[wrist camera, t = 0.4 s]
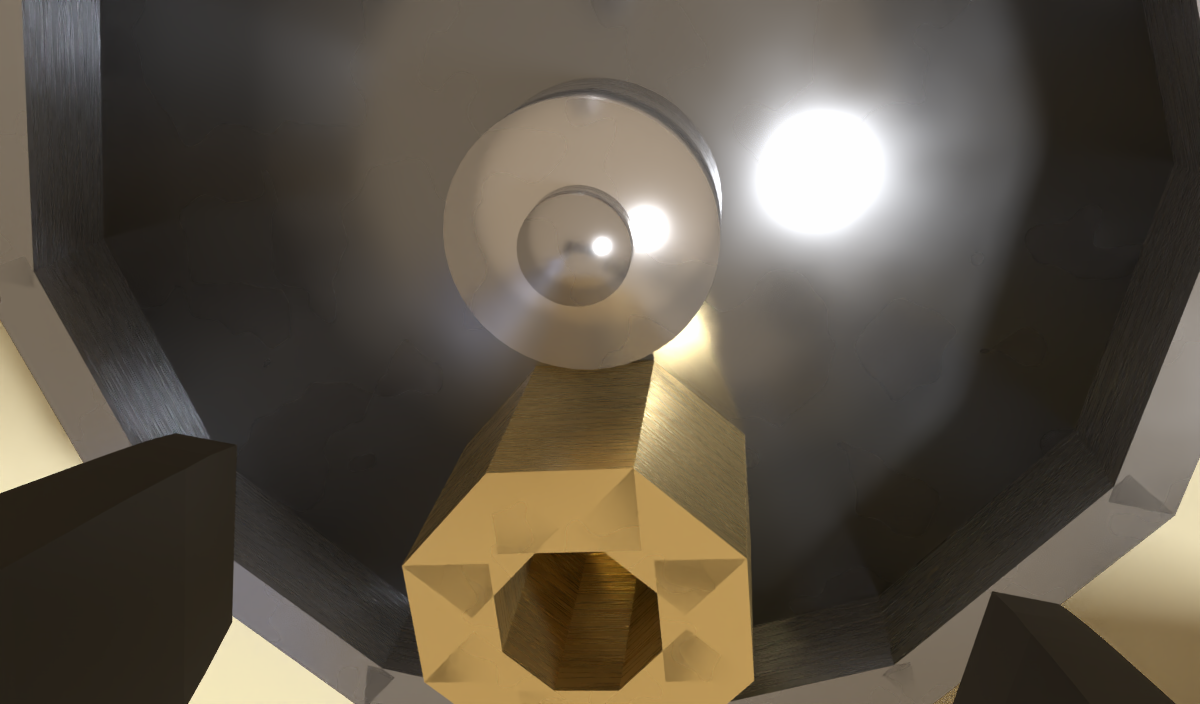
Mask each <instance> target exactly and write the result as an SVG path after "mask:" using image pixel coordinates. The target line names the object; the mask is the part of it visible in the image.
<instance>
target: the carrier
mask: <svg viewBox="0 0 1200 704" xmlns="http://www.w3.org/2000/svg"><path fill="white" fill-rule="evenodd" d="M0 320H1V322H2V324H3V325H4V327H5V329H6V331H7V332H8V334H9V336H10V337H11V339H12V341H13V343H14V344H15V346H16V348H17V350H18V351H19V353H20V355H21V356H22V358H23V360H24V362H25V363H26V365H27V367H28V368H29V370H30V372H31V374H32V375H33V377H34V379H35V380H36V382H37V384H38V386H39V387H40V389H41V391H42V392H43V394H44V396H45V398H46V399H47V401H48V403H49V404H50V406H51V408H52V410H53V411H54V413H55V415H56V417H57V418H58V420H59V422H60V423H61V425H62V427H63V429H64V430H65V432H66V434H67V435H68V437H69V439H70V441H71V442H72V444H73V446H74V447H75V449H76V451H77V453H78V454H79V456H80V458H81V459H82V461H83V463H85V462H87V461H90V460H93V459H96V458H99V457H101V456H104V455H107V454H110V453H112V452H115V451H118V450H121V449H124V448H127V447H130V446H133V445H136V444H139V443H142V442H145V441H148V440H152V439H155V438H159V437H162V436H166V435H170V434H174V433H178V434H183V435H189V436H194V437H199V438H204V439H209V440H214V441H220V442H225V443H230V444H235V445H237V465H236V501H235V537H234V573H233V608H232V616H233V617H235V618H236V619H238V620H239V621H240V622H242V623H243V624H245V625H246V626H247V627H249V628H250V629H252V630H253V631H254V632H256V633H257V634H259V635H260V636H261V637H263V638H264V639H265V640H267V641H268V642H270V643H271V644H272V645H274V646H275V647H277V648H278V649H279V650H281V651H282V652H284V653H285V654H286V655H288V656H289V657H291V658H292V659H293V660H295V661H296V662H298V663H299V664H300V665H302V666H303V667H304V668H306V669H307V670H309V671H310V672H311V673H313V674H314V675H316V676H317V677H318V678H320V679H321V680H323V681H324V682H325V683H327V684H328V685H330V686H331V687H332V688H334V689H335V690H337V691H338V692H339V693H341V694H342V695H343V696H345V697H346V698H348V699H349V700H350V701H352V702H353V703H355V704H453V703H452V702H451V701H449V700H448V699H447V698H445V697H444V696H443V695H441V694H440V693H438V692H437V691H436V690H434V689H433V688H432V687H430V686H429V685H427V684H426V683H424V678H423V673H422V668H421V662H420V657H419V652H418V647H417V641H416V636H415V631H414V626H413V620H412V615H411V610H410V605H409V600H408V594H407V589H406V584H405V579H404V573H403V568H402V565H403V563H404V561H405V559H406V557H407V555H408V554H409V552H410V550H411V548H412V546H413V544H414V542H415V541H416V539H417V537H418V535H419V533H420V531H421V529H422V527H423V526H424V524H425V522H426V520H427V518H428V516H429V514H430V512H431V511H432V509H433V507H434V505H435V503H436V501H437V499H438V497H439V496H440V494H441V492H442V490H443V488H444V486H445V484H446V483H447V481H448V479H449V477H450V475H451V473H452V471H453V469H454V468H455V466H456V464H457V462H458V460H459V458H460V456H461V454H462V453H463V451H464V449H465V447H466V445H467V444H468V443H469V442H470V441H471V440H472V439H473V438H474V436H475V435H476V434H477V433H478V432H479V431H480V430H481V428H482V427H483V426H484V425H485V424H486V423H487V422H488V420H489V419H490V418H491V417H492V416H493V415H494V414H495V413H496V411H497V410H498V409H499V408H500V407H501V406H502V405H503V403H504V402H505V401H506V400H507V399H508V398H509V397H510V396H511V394H512V393H513V392H514V391H515V390H516V389H517V388H518V386H519V385H520V384H521V383H522V382H523V381H524V380H525V379H526V377H527V376H528V375H529V374H530V373H531V372H532V371H533V369H534V368H535V367H536V366H557V367H562V368H570V369H585V370H595V369H604V368H612V367H616V366H620V365H624V364H628V363H631V362H636V361H655V362H656V363H658V364H659V365H660V366H661V367H662V368H664V369H665V370H666V371H667V372H669V373H670V374H671V375H672V376H673V377H675V378H676V379H677V380H678V381H680V382H681V383H682V384H683V385H684V386H686V387H687V388H688V389H689V390H691V391H692V392H693V393H694V394H696V395H697V396H698V397H699V398H700V399H702V400H703V401H704V402H705V403H707V404H708V405H709V406H710V407H711V408H713V409H714V410H715V411H716V412H718V413H719V414H720V415H721V416H722V417H724V418H725V419H726V420H727V421H729V422H730V423H731V424H732V425H733V426H735V427H736V428H737V429H738V430H740V431H741V432H742V433H743V434H745V449H746V466H747V484H748V502H749V520H750V538H751V576H752V616H753V655H754V681H753V682H752V683H751V684H750V685H749V686H748V687H746V688H745V689H744V690H743V691H742V692H741V693H739V694H738V695H737V696H736V697H735V698H734V699H732V700H731V701H730V702H729V703H728V704H934V703H935V702H936V701H938V700H939V699H940V698H941V697H943V696H944V695H945V694H947V693H948V692H949V691H950V690H952V689H953V688H954V687H955V686H957V685H958V684H959V683H960V682H961V679H962V677H963V674H964V671H965V668H966V665H967V662H968V659H969V656H970V653H971V651H972V648H973V645H974V642H975V639H976V636H977V633H978V630H979V628H980V625H981V622H982V619H983V616H984V613H985V610H986V607H987V604H988V602H989V599H990V596H991V593H992V591H995V592H1000V593H1005V594H1010V595H1015V596H1020V597H1026V598H1031V599H1036V600H1041V601H1046V602H1051V603H1057V604H1060V605H1061V604H1062V603H1063V602H1064V601H1066V600H1067V599H1068V598H1070V597H1071V596H1072V595H1073V594H1075V593H1076V592H1077V591H1079V590H1080V589H1081V588H1082V587H1084V586H1085V585H1086V584H1088V583H1089V582H1090V581H1091V580H1093V579H1094V578H1095V577H1097V576H1098V575H1099V574H1100V573H1102V572H1103V571H1104V570H1106V569H1107V568H1108V567H1109V566H1111V565H1112V564H1113V563H1114V562H1116V561H1117V560H1118V559H1120V558H1121V557H1122V556H1123V555H1125V554H1126V553H1127V552H1129V551H1130V550H1131V549H1132V548H1134V547H1135V546H1136V545H1138V544H1139V543H1140V542H1141V541H1143V540H1144V539H1145V538H1147V537H1148V536H1149V535H1150V534H1152V533H1153V532H1154V531H1156V530H1157V529H1158V528H1159V527H1161V526H1162V525H1163V524H1164V523H1166V522H1167V521H1168V520H1170V519H1171V518H1172V517H1173V516H1175V514H1176V512H1177V509H1178V507H1179V505H1180V502H1181V500H1182V498H1183V495H1184V493H1185V491H1186V488H1187V486H1188V484H1189V481H1190V479H1191V477H1192V474H1193V472H1194V470H1195V467H1196V465H1197V462H1198V460H1199V458H1200V0H0Z"/></svg>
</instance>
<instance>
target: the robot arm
mask: <svg viewBox="0 0 1200 704" xmlns="http://www.w3.org/2000/svg"><path fill="white" fill-rule="evenodd" d="M236 465H237V445H235V444H230V443H225V442H220V441H214V440H209V439H204V438H199V437H194V436H189V435H183V434H178V433H174V434H170V435H166V436H162V437H159V438H155V439H152V440H148V441H145V442H142V443H139V444H136V445H133V446H130V447H127V448H124V449H121V450H118V451H115V452H112V453H110V454H107V455H104V456H101V457H99V458H96V459H93V460H90V461H87V462H85V463H82V464H79V465H77V466H74V467H71V468H69V469H66V470H63V471H60V472H58V473H55V474H52V475H49V476H47V477H44V478H41V479H38V480H36V481H33V482H30V483H28V484H25V485H22V486H19V487H17V488H14V489H11V490H8V491H6V492H3V493H0V704H188V703H189V701H190V699H191V698H192V696H193V694H194V692H195V691H196V689H197V687H198V685H199V683H200V682H201V680H202V678H203V676H204V675H205V673H206V671H207V669H208V667H209V665H210V663H211V661H212V660H213V658H214V656H215V654H216V652H217V650H218V648H219V646H220V644H221V642H222V641H223V639H224V637H225V635H226V633H227V631H228V629H229V627H230V625H231V623H232V608H233V573H234V537H235V501H236ZM953 704H1175V703H1174V702H1173V701H1172V700H1171V699H1170V698H1169V697H1167V696H1166V695H1165V694H1164V693H1163V692H1162V691H1161V690H1160V689H1159V688H1157V687H1156V686H1155V685H1154V684H1153V683H1152V682H1151V681H1150V680H1149V679H1147V678H1146V677H1145V676H1144V675H1143V674H1142V673H1141V672H1140V671H1139V670H1137V669H1136V668H1135V667H1134V666H1133V665H1132V664H1131V663H1130V662H1128V661H1127V660H1126V659H1125V658H1124V657H1123V656H1122V655H1121V654H1119V653H1118V652H1117V651H1116V650H1115V649H1114V648H1113V647H1111V646H1110V645H1109V644H1108V643H1107V642H1106V641H1105V640H1103V639H1102V638H1101V637H1100V636H1099V635H1098V634H1097V633H1095V632H1094V631H1093V630H1092V629H1091V628H1089V627H1088V626H1087V625H1086V624H1085V623H1083V622H1082V621H1081V620H1080V619H1078V618H1077V617H1076V616H1075V615H1073V614H1072V613H1071V612H1069V611H1068V610H1067V609H1065V608H1064V607H1062V606H1061V605H1060V604H1057V603H1051V602H1046V601H1041V600H1036V599H1031V598H1026V597H1020V596H1015V595H1010V594H1005V593H1000V592H995V591H992V593H991V596H990V599H989V602H988V604H987V607H986V610H985V613H984V616H983V619H982V622H981V625H980V628H979V630H978V633H977V636H976V639H975V642H974V645H973V648H972V651H971V653H970V656H969V659H968V662H967V665H966V668H965V671H964V674H963V677H962V679H961V682H960V685H959V688H958V691H957V694H956V697H955V700H954V702H953Z"/></svg>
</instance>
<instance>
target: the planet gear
mask: <svg viewBox="0 0 1200 704" xmlns="http://www.w3.org/2000/svg"><path fill="white" fill-rule="evenodd" d="M402 568H403V573H404V579H405V584H406V589H407V594H408V600H409V605H410V610H411V615H412V620H413V626H414V631H415V636H416V641H417V647H418V652H419V657H420V662H421V668H422V673H423V678H424V683H426V684H427V685H429V686H430V687H432V688H433V689H434V690H436V691H437V692H438V693H440V694H441V695H443V696H444V697H445V698H447V699H448V700H449V701H451V702H452V703H453V704H728V703H729V702H730V701H731V700H732V699H734V698H735V697H736V696H737V695H738V694H739V693H741V692H742V691H743V690H744V689H745V688H746V687H748V686H749V685H750V684H751V683H752V682H753V681H754V655H753V616H752V576H751V538H750V520H749V502H748V484H747V466H746V449H745V434H743V433H742V432H741V431H740V430H738V429H737V428H736V427H735V426H733V425H732V424H731V423H730V422H729V421H727V420H726V419H725V418H724V417H722V416H721V415H720V414H719V413H718V412H716V411H715V410H714V409H713V408H711V407H710V406H709V405H708V404H707V403H705V402H704V401H703V400H702V399H700V398H699V397H698V396H697V395H696V394H694V393H693V392H692V391H691V390H689V389H688V388H687V387H686V386H684V385H683V384H682V383H681V382H680V381H678V380H677V379H676V378H675V377H673V376H672V375H671V374H670V373H669V372H667V371H666V370H665V369H664V368H662V367H661V366H660V365H659V364H658V363H656V362H655V361H636V362H631V363H628V364H624V365H620V366H616V367H612V368H604V369H595V370H585V369H570V368H562V367H557V366H536V367H535V368H534V369H533V371H532V372H531V373H530V374H529V375H528V376H527V377H526V379H525V380H524V381H523V382H522V383H521V384H520V385H519V386H518V388H517V389H516V390H515V391H514V392H513V393H512V394H511V396H510V397H509V398H508V399H507V400H506V401H505V402H504V403H503V405H502V406H501V407H500V408H499V409H498V410H497V411H496V413H495V414H494V415H493V416H492V417H491V418H490V419H489V420H488V422H487V423H486V424H485V425H484V426H483V427H482V428H481V430H480V431H479V432H478V433H477V434H476V435H475V436H474V438H473V439H472V440H471V441H470V442H469V443H468V444H467V445H466V447H465V449H464V451H463V453H462V454H461V456H460V458H459V460H458V462H457V464H456V466H455V468H454V469H453V471H452V473H451V475H450V477H449V479H448V481H447V483H446V484H445V486H444V488H443V490H442V492H441V494H440V496H439V497H438V499H437V501H436V503H435V505H434V507H433V509H432V511H431V512H430V514H429V516H428V518H427V520H426V522H425V524H424V526H423V527H422V529H421V531H420V533H419V535H418V537H417V539H416V541H415V542H414V544H413V546H412V548H411V550H410V552H409V554H408V555H407V557H406V559H405V561H404V563H403V565H402Z"/></svg>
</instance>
